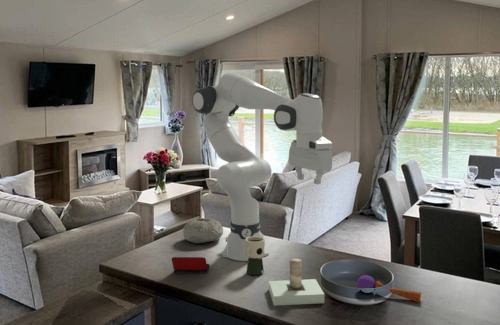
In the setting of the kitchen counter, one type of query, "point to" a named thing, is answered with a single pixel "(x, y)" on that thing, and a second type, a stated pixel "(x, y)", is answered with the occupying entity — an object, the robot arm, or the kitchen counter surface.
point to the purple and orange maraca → (370, 283)
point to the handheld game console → (190, 265)
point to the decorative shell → (202, 230)
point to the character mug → (255, 254)
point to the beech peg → (295, 275)
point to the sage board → (296, 293)
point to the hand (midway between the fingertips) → (308, 181)
